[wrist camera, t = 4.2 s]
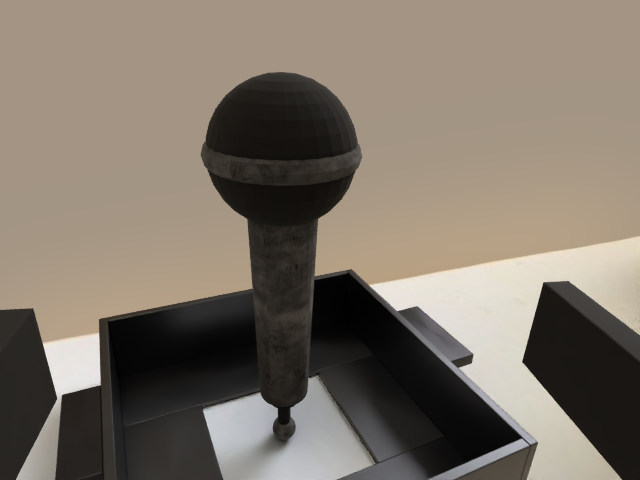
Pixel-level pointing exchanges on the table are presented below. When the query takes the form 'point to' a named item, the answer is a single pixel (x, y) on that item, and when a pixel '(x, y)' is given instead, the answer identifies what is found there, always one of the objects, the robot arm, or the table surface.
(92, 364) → the table surface
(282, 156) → the microphone
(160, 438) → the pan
